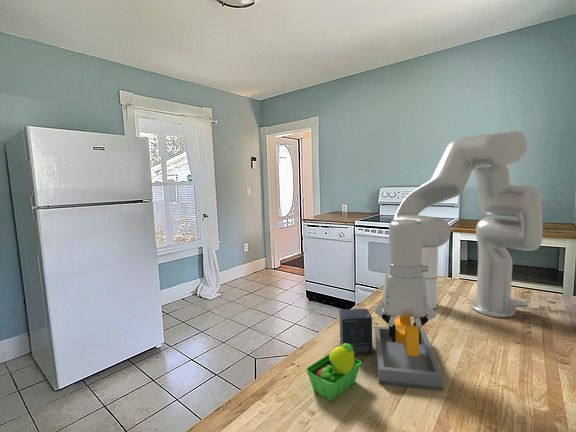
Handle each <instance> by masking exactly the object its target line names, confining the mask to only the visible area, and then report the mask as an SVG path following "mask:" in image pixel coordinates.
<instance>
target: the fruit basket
mask: <svg viewBox="0 0 576 432" xmlns="http://www.w3.org/2000/svg"><path fill="white" fill-rule="evenodd" d="M361 365H362V361H361V360H360V359H357V358H356V357H355V355H354V351H353V347H352V346H351V345H350V344H347V343H344V344H342V345H340V346H337V347H334V348H333V349H332V350H331V351H330V353H328V354H326V356H324V357H321V358H320V359H319V360H318V361H316V362H315V363H313V364H311V365H309V366H308V367H307V368H306V369H305V370H306V373H307V375H308V377H309V381H310V384H311V387H312V389H313V391H314V392H316V393H318V394H319V395H320V396H322V397H323V398H325V399H327V400H328V401H329V402H332V401H333V400H335V399H336V397H338V396H340V395H341V394H342V393H343V392H344V391H346V390H347V389H348V388H349V387H350V386H352V385H354V384H355V383H356V380H357V376H358V374H359V369H360V368H361Z"/></svg>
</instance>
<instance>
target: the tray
mask: <svg viewBox="0 0 576 432" xmlns="http://www.w3.org/2000/svg"><path fill="white" fill-rule="evenodd" d="M374 343H375V344H374V346H375V354H376V355H375V356H376V367H377V375H378V376H377V378H378V385H379V384H380V385H387V386H397V387H406V388H414V389H424V390H433V391H442V392H443V391H444V374H443V372H442V369H441V366H440V364H439V361H438V359H437V357H436V355H435V352H434V350H433V348H432V345H431V342H430V340H429V338H428V335H427V333H426V331H425V329H422V328H421V329H420V339H419V356H407V354H406V351H405V348H404V345H403V343H396V342H392V337H389V326H378V325H377V326H376V325H375V326H374Z"/></svg>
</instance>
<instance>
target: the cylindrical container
mask: <svg viewBox="0 0 576 432" xmlns="http://www.w3.org/2000/svg"><path fill="white" fill-rule="evenodd" d="M438 250H439V247H427V248H422V265H424V266H428V272H423V273H422V274H423V275H424V278H425V283H426V292H427V303H428V305H429V306H430V307H431V308H432V310H433V309H436V308H437V300H438V299H437V298H438V297H437V296H438V294H437V293H438V259H439V257H438V254H439V253H438V252H439V251H438Z"/></svg>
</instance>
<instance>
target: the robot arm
mask: <svg viewBox="0 0 576 432" xmlns="http://www.w3.org/2000/svg"><path fill="white" fill-rule="evenodd" d="M527 147H528V142H527V138H526V136H525V135H524V134H523V133H522V132H521V131H518V130H513V131H512V130H511V131H503V132H502V131H501V132H496V133H495V132H494V133H487V134H486V133H485V134H477V135H471V136H463V137H458V138H454V139H453V140H451V141H450V142H448V145H447V146H446V147H445V149H444V151H443V153H442V155H441V157H440V159H439V161H438V163H437V165H436V167H435V169H434V171H433V173H432V174H431V177H430V178H429V179H428V180H427V181H426V182H424V183H422V184H421V185H420V186H418V187H417V188H415V190H413V191H411V193H409V194H408V195H406V197H405V198H404V199H403V200H402V202H401V203H400V205H399V206H398V209H397V210H396V212H395V214H394V217H393V219H392V221H391V222H390V223H389V226H388V272H386V273H385V274H384V280H383V289H382V300H381V301H380V302H379V303H378V304H377V305H376V307H375V308H374V313H375V315H378V317H380V318H381V319H382V320H383V321H384V322H385V323H386V324H387V325H388V327H389V337H392V342H395V335H396V328H395V323H394V321H395V319H397V318H396V317H399V316H406V317H410V318H413V319H414V322H413V323H412V326H417V327H418V329H419V339H420V329H421V330H422V329H423V326H424V325H426V324H427V323H428V322H429V321H431V320H432V319H434V318H436V317H437V314H436V313H435V311H434V310H433V309H432V308H431V307H430V306H429V305H428V303H427V292H426V283H425V278H424V275H423V274H422V273H423V272H428V266H424V265H422V248H427V247H438V248H439V247H441V246H444V245H445V244H446V243H447V242H448V240H449V239H450V237H451V234H452V233H451V232H452V231H451V226H450V224H449V223H448V222H447V221H446V220H445V219H443V218H440V217H438V216H437V217H436V216H428V215H427V216H426V215H421V214H420V213H421V212H422V211H424V210H426V209H427V208H429V207H431V206H433V205H434V206H435V205H436V204H439V203H442V202H445V201H448V200H451V199H454V198H456V197H458V196H460V195H461V194H462V193H463V192H464V189H465V187H466V185H467V183H468V180H469V178H470V177H471V175H472V172H473V171H474V174H475V178H476V187H477V198H478V201H477V202H478V206H479V209H480V211H481V212H482V213H484V214H486V215H489V216H488V217H487V216H486V217H484V218H481V219H480V220H478V222H477V223H476V227H475V234H476V235H475V237H476V241H477V253H478V254H477V277H476V280H477V281H476V299H474V300H472V301H471V302H470V307H471V308H472V309H473V310H474V311H476V312H478V313H480V314H482V315H485V316H490V317H495V318H510V317H514V316H515V315H516V313H517V311H516V310H517V309H516V308H528V306H529V305H528V302H527V301H524V300H522V301H520V299H519V298H511V295H512V278H513V277H512V276H513V259H512V256H511V254H510V252H509V251H508V249H511V250H512V249H513V250H521V251H528V252H529V251H530V252H531V251H536V250H538V249H539V248H540V247H541V245H542V242H543V236H544V234H543V228H544V227H543V201H542V197H541V196H542V195H541V193H540V191H539V190H538V189H537V188H536V187H534V186H531V185H526V184H525V185H523V184H521V185H520V184H515V185H513V184H511V183H510V173H509V168H508V166H507V165H510V164H514V163H518V162H519V161H520V160H521V159H523V157H524V155H525V154H526V152H527V149H528V148H527ZM490 215H491V216H490ZM492 215H493V216H492ZM500 216H502V217H500ZM503 216H504V217H503ZM513 217H516V218H513Z"/></svg>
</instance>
